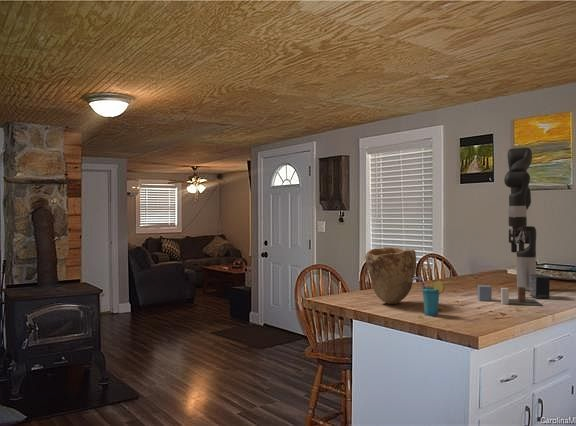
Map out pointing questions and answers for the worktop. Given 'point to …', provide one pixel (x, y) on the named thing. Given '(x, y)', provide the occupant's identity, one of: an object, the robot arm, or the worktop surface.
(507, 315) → the worktop surface
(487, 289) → the blue-grey block
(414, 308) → the worktop surface
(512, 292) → the worktop surface
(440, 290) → the cup
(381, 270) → the bowl
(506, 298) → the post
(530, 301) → the dark grey square tray
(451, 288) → the worktop surface
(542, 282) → the small box
